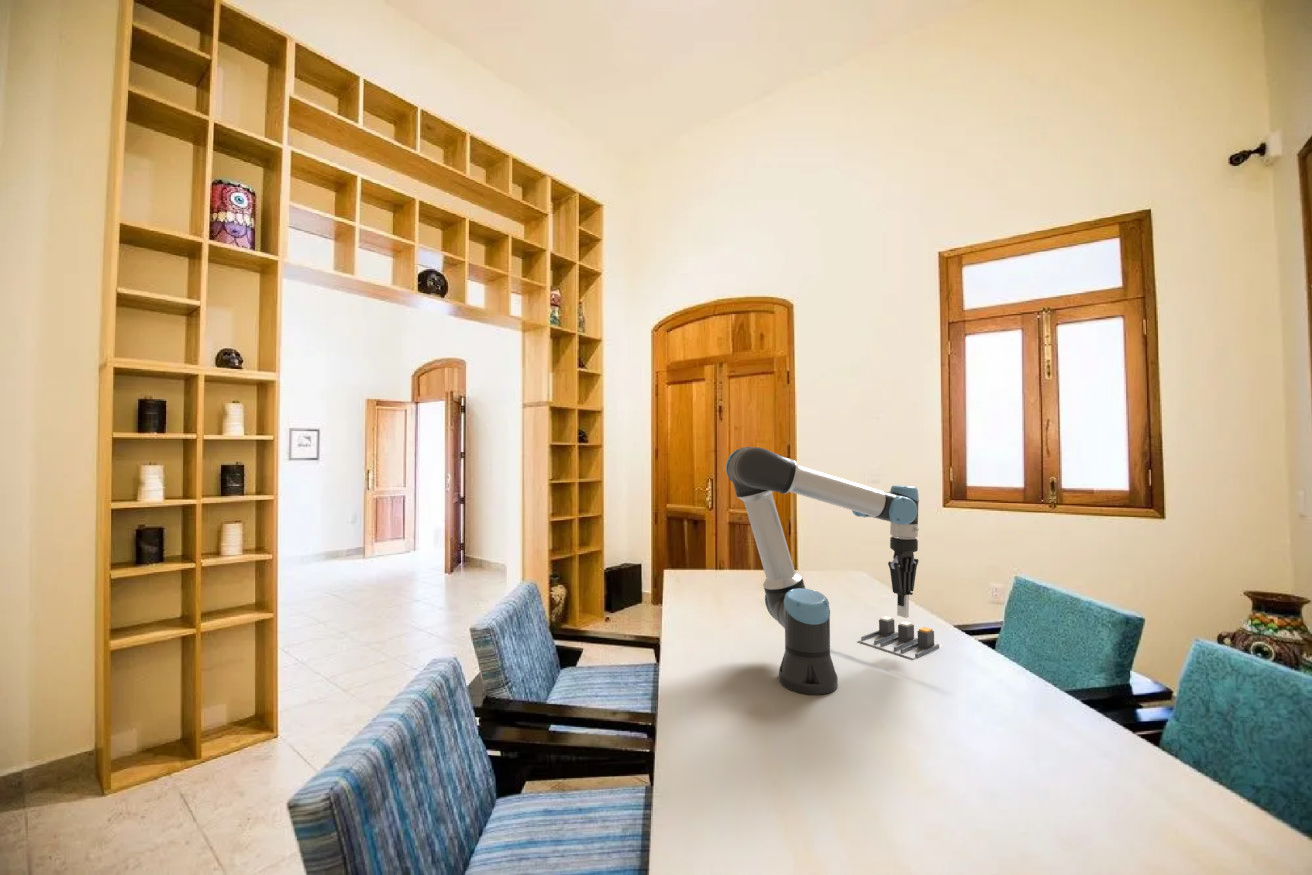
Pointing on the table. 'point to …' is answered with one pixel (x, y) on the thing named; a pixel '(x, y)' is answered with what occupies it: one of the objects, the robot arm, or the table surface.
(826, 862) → the table surface
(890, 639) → the panel
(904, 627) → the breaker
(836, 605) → the table surface
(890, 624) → the breaker
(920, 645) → the block
